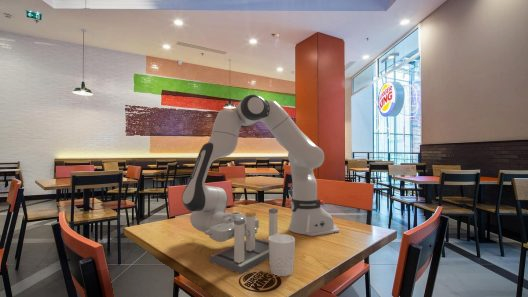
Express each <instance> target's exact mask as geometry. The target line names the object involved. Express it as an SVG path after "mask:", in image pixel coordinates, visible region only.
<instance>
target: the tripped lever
mask: <svg viewBox="0 0 528 297" xmlns="http://www.w3.org/2000/svg"><path fill="white" fill-rule="evenodd" d="M256 214H257V213H256V211H252V210H251V211H247V212H245V215H246V230H249V231H250V236H247V237H245V241H246V250H247V251H252V250H254V249H255V238H256V233H255V218H256Z"/></svg>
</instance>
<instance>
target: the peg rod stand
mask: <svg viewBox="0 0 528 297" xmlns="http://www.w3.org/2000/svg"><path fill="white" fill-rule="evenodd" d="M278 212H279V209H278V208H275V207H272V208H269V209H268V238H269V237H270V236H272V235H276V234H278ZM233 239H234V240H233V242H234V243H233V245H232V246H229V247H226V248H224V249H221V250H219V251H217V252H215V253H212V254H211V255H209V262H210V263H211V264H214V265H217V266H219V267H222V268H224V269H227V270H229V271H233V272H235V273H237V274H240V275H242V274H244V273H245V272H248V271H249V270H251V269H253V268H254V267H257V266H258V265H259V264H261V263H264V262H265V261H267V260H270V259H269V241H266V240H264V239H260V238H256V237H255V249H254V250H252V251H247V250H246V240H245V239H246V237H245V219H241V218H239V219H236V220H234V238H233Z"/></svg>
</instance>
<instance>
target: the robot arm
mask: <svg viewBox="0 0 528 297" xmlns="http://www.w3.org/2000/svg"><path fill="white" fill-rule="evenodd" d="M257 122H261V123H262V124H263V125H264V126H265V127H266V128H267V129H268V130H269V132H270V133H271V135H272V136H273V137H274V139H275V140H276V141H277V142H278V144H279V145H280V146H281V147H283V148H284V149H285V150H286V151H287V152H288V153H287V159H288V162H289V167H290V173H291V179H292V181H291V182H292V183H291V184H292V198H291V203H290V206H291V207H290V208H291V216H290V223H289V226H288V230H289V231H290V232H292V233H295V234H300V235H306V236H309V237H315V236H321V235H328V234H334V232H335V233H339V232H340V228H339V227H338V226H337V225H336V224H335V222H334V218H333V217H332V215H331V214H330V213H329V212H327V210H325V209H324V208H323V207H321V206H324V205H325V201H324V200H323V199H318V180H317V179H316V177H315V173H314V170H315V169H317V168H319V167H322V164H323V163H324V161H325V153H324V151H323V149H322V148H321V147H319V146H318V145H316V144H315V143H314V142H313V140H312V139H310V138H309V137H308V136H307V134H305V133H303V131H302V130H301V129H300V128H299V127H298V125H297V124H296V123H295V122H294V120H293V119H292V117H291V116H290V115H289V114H288V113H287V111H286V110H285V108H283V107H282V106H281V105H280V103H278V102H277V101H275V100H271V99H270V100H266V99H264V98H263V97H261V96H260V95H258V94H248V95H247V96H245V97H244V98H243V99H242V100H240V101H239V102H238V104H236V106H235V108H233V109H230V108H224V109H221V110H220V111H218V113H217V115H216V118H215V120H214V122H213V126H212V131H211V133H210V134H211V135H210V138H209V139H208V141H207V142H206V143H204V144H203V145H202V147H201V148H200V150H199V153H198V154H197V158H196V161H195V163H194V166H193V168H192V171H191V174H190V177H189V180H188V182H187V184H186V186H185V187H184V189H183V192H182V194H181V201H182V204H183V205H184V206H183V207H184V208H185V209H186V210H187V211H189V212H191V214H190V216H189V218H190V219H189V221H190V224H191V226H193V227H192V228H194V229H195V230H197V231H199V232H201V233H204V234H205V235H207V236H209V238H210V239H211V240H213V241H215V242H218V243H223V242H226V241H228V240H231V239H234V220H236V219H239V218H241V219H245V238H246V237H247V236H250V231H249V230H246V214H243V212H231V213H230V212H225V211H226V209H227V206H228V202H229V201H228V200H229V199H228V197H229V196H228V193H227V191H226V189H224V188H223V187H220V186H212V185H206V179H207V176H208V173H209V170H210V167H211V164H212V163H213V162H214V161H216V160H218V159H220V158H222V159H223V158H225V157H228V156H230V155H232V154H234V152H235V151H236V149H237V146H238V141H239V135H240V134H239V133H240V130H241V128H247V127H250V126H253V125H254V124H256V123H257ZM259 223H260V221H259V219H258V218H257V217H255V234H257V233H258V229H259V227H260V224H259Z"/></svg>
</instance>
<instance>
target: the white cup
mask: <svg viewBox="0 0 528 297" xmlns="http://www.w3.org/2000/svg"><path fill="white" fill-rule="evenodd" d="M268 242H269V259H268V260H269V264H270V265H269V267H270V268H269V269H270V270H269V272H270V273H271V275H273V274H274V275H273V276H275V275H277V276H276V277H280V276H285V277H288V276H287V275H289V276H291V275H292V274H293V273H294V270H293V269H294V262H295V261H294V260H295V244H296V243H295V242H296V239H295V237H294V236H293V235H291V234H286V233H277V234H276V235H272V236H270V237H269V236H268Z"/></svg>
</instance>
